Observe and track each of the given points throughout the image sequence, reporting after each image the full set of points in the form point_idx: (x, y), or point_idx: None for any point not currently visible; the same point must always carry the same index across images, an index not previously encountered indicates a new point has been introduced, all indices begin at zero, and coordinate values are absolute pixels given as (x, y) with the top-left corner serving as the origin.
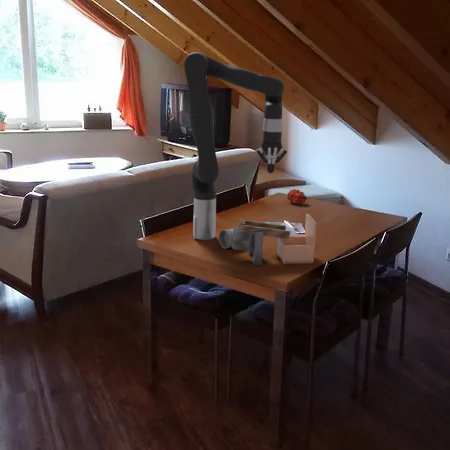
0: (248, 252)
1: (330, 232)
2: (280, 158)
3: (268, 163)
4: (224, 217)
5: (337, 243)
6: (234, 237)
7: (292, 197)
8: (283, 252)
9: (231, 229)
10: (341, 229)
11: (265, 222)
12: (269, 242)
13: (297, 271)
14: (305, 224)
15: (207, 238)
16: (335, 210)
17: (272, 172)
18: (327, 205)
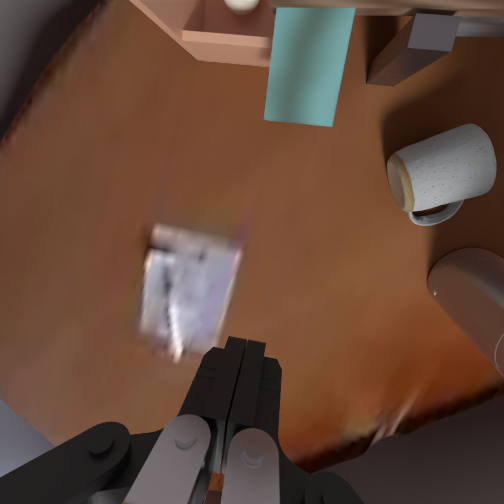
0: (394, 85)
1: (80, 241)
2: (18, 489)
3: (270, 441)
4: (327, 414)
5: (79, 140)
6: None
7: None
8: None
9: (455, 172)
10: (47, 258)
11: (334, 107)
12: (279, 187)
13: None
14: (160, 18)
15: (474, 248)
16: (39, 392)
17: (229, 336)
18: (51, 426)
